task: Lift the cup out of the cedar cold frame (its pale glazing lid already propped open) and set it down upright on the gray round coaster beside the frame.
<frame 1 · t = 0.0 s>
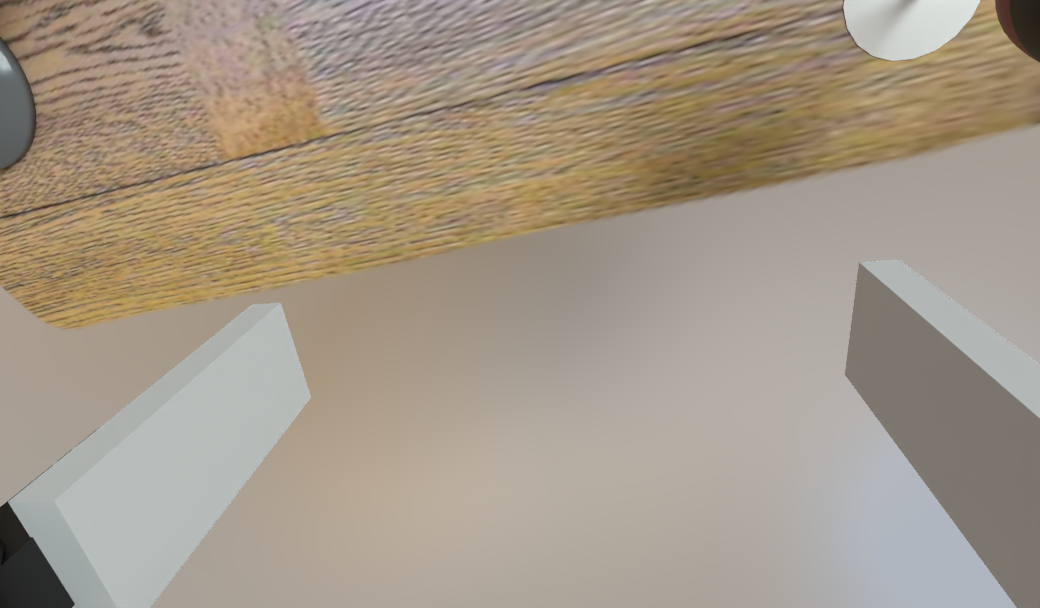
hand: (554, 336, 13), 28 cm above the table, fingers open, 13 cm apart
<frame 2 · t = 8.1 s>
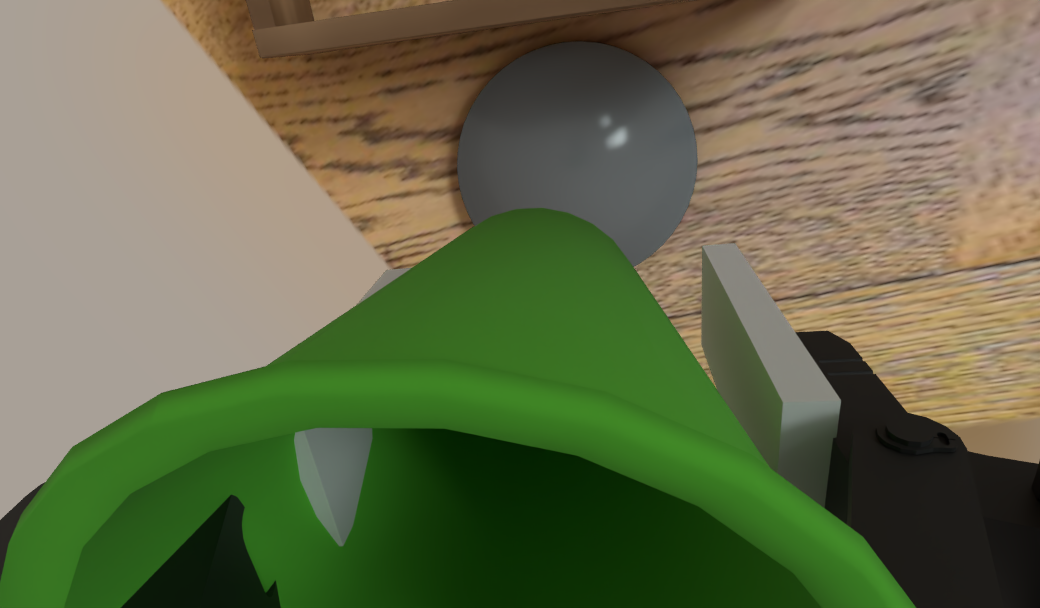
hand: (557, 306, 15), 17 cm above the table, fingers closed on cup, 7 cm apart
cup: (538, 295, 16), point 16 cm above the table, touching gripper
gray round coaster: (574, 168, 30), on the table
when the fingers open (3 cm above the table, at t = 11.0 s): cup drops 1 cm, resting on gray round coaster.
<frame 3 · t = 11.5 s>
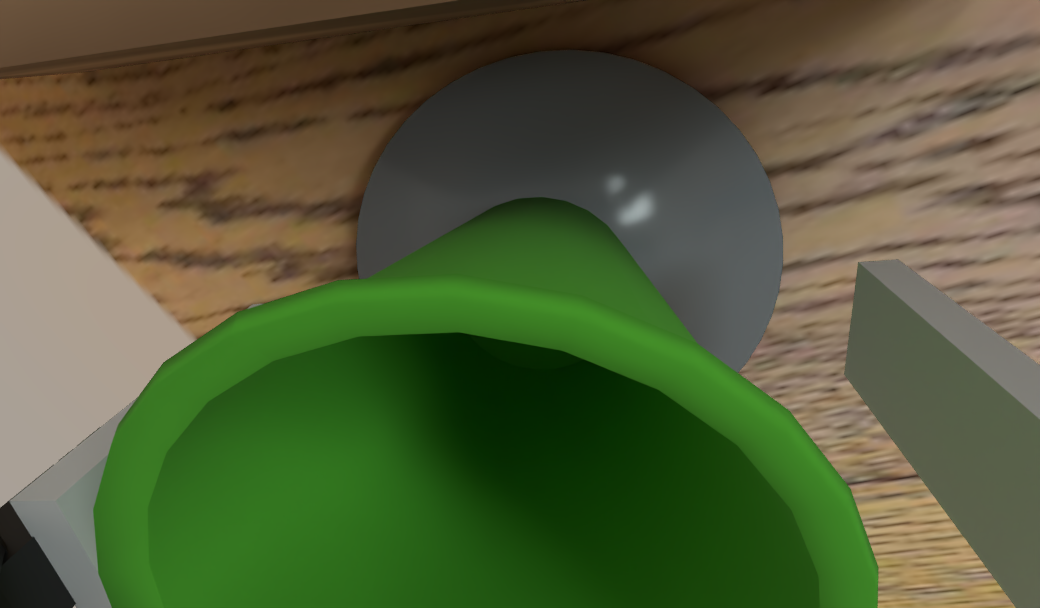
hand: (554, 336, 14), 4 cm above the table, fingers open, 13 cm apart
cup: (540, 280, 17), point 1 cm above the table, touching gray round coaster
gray round coaster: (562, 269, 17), on the table
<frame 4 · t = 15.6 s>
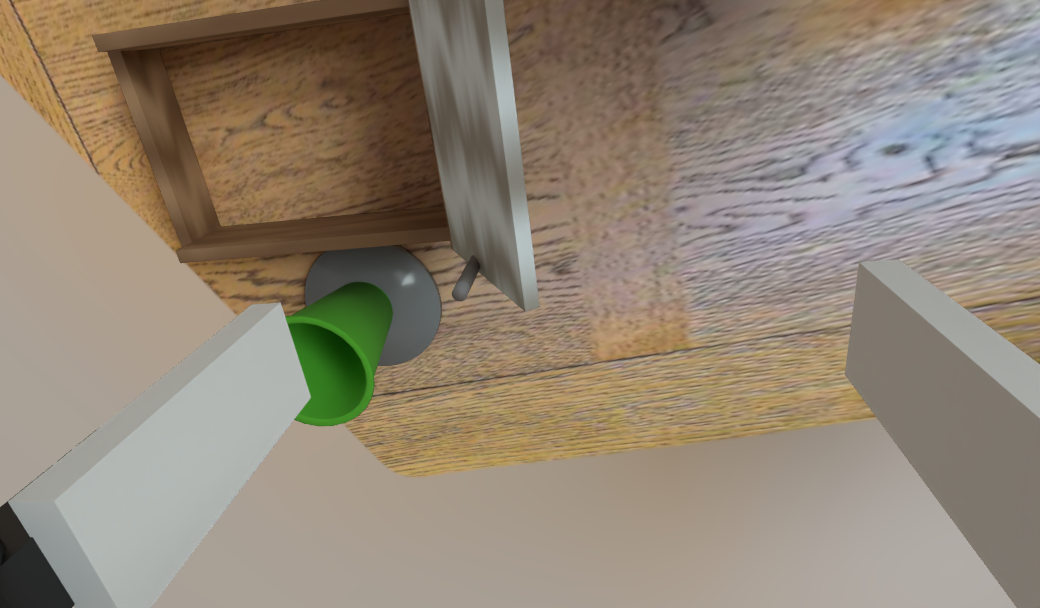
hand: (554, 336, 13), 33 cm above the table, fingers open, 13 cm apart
cold frame: (319, 128, 45), on the table
cup: (366, 306, 51), point 1 cm above the table, touching gray round coaster
gray round coaster: (374, 302, 51), on the table
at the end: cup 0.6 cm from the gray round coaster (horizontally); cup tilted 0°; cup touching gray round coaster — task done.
